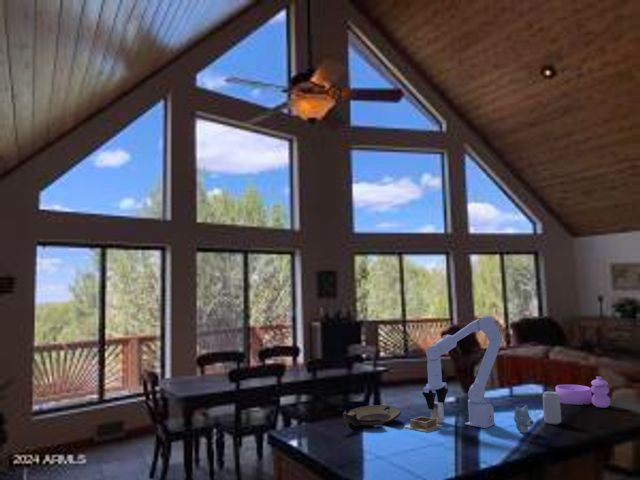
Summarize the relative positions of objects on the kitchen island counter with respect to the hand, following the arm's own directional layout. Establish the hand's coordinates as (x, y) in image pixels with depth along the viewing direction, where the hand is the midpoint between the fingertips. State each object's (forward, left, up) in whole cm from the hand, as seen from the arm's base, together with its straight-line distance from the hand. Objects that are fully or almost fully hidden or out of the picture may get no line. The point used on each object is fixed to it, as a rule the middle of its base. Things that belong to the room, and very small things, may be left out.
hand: (436, 407), depth 222 cm
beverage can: (-37, -27, -6) cm, 46 cm away
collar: (0, +10, -6) cm, 12 cm away
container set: (-34, -70, -6) cm, 79 cm away
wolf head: (-35, -6, -6) cm, 36 cm away
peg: (0, 0, -6) cm, 6 cm away
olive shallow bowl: (+21, +19, -6) cm, 29 cm away
